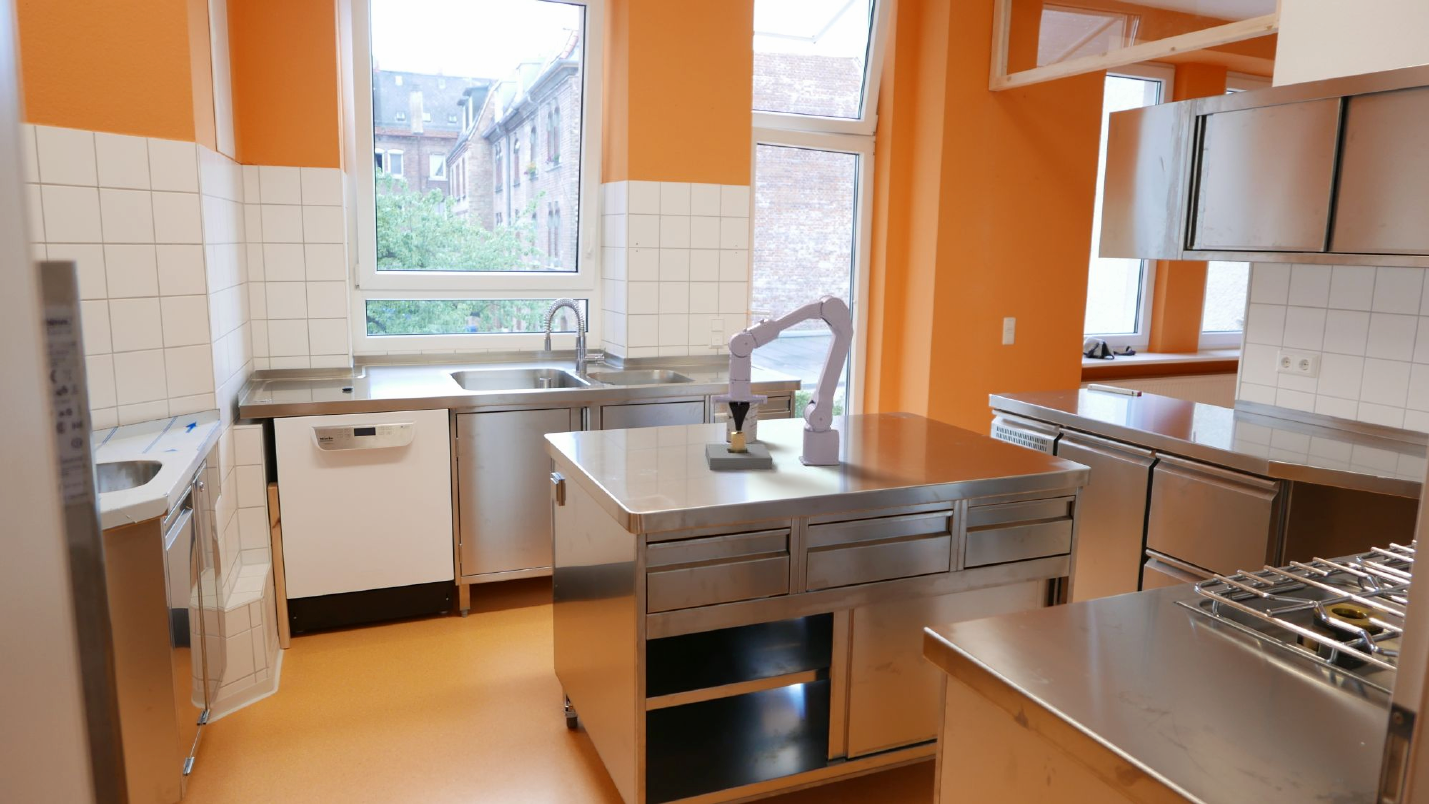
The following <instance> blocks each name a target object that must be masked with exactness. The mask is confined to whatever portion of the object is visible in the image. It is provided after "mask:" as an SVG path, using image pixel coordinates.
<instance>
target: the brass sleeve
mask: <svg viewBox="0 0 1429 804" xmlns="http://www.w3.org/2000/svg"><path fill="white" fill-rule="evenodd" d="M730 444H731V449H730V453H745V452H746V444H747V443H746V432H744V431H732V432H731V441H730Z"/></svg>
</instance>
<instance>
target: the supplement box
mask: <svg viewBox="0 0 1429 804" xmlns="http://www.w3.org/2000/svg"><path fill="white" fill-rule="evenodd" d="M733 401H734V400H733ZM738 404H739V403H738ZM726 405H727V406H726V431H725V433H726V434H725V441H726V442H731V432H732V431H736V430H735V422H734V418H733V414H732V412H731V409H730V407H729V404H728V403H726ZM758 412H759V403H750V408H749V410H748V412H747V414H746V416H745V419H744V422H743V425H742V430H741V431H744V432H746V444H752V443H753V442H754V441H756V440H757V437H758V436H757V435H758V416H759V415H758V414H759V413H758Z"/></svg>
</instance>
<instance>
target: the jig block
mask: <svg viewBox="0 0 1429 804" xmlns="http://www.w3.org/2000/svg"><path fill="white" fill-rule="evenodd" d="M730 449H731V443H723V444H722V443H706V444H705V455H704V456H705V458H706V461H707V464H708V467H709V470H716V471H717V470H719V471H720V470H722V471H723V470H724V471H725V470H731V471H732V470H735V471H737V470H773V457H772V455H771V453H770V451H769V450H768V448H767V447H766V445H765V444H763V443H749V444H747V443H746V452H745V453H730Z"/></svg>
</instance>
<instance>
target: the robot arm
mask: <svg viewBox="0 0 1429 804" xmlns="http://www.w3.org/2000/svg"><path fill="white" fill-rule="evenodd" d="M806 320H823V321H824V322H825V323H826V324H827V326H828V328H829V330H830V331H831V333H832V336H831V340H830V342H829V346H828V349H827V353H826V356H825V359H824V362H823V366H822V369H821V372H820V375H819V378H818V381H817V385H816V389H815V391H814V392H813V393H812V395H811V397H810V399H809V401H808V403H807V404H806V405H804V407H803V410H802V415H803V419H804V420H805V421H806V423H805V424H804V425H803V433H802V434H803V435H802V455H799V456H798V459H799V460H800V461H801V463H802V464H803V465H807V466H808V465H809V466H811V465H813V466H814V465H815V466H818V465H819V466H824V465H825V466H828V465H829V466H832V465H835V466H836V465H840V461H839V460H840V459H839V457H840V432H839V430H838V429H836V428H835V429H834V428H833V429H832V427H831V426H832V424H833V420H834V419H833V408H834V397H835V393H836V391H837V387H838V383H839V380H840V378H841V374H842V371H843V368H844V365H845V362H846V358H847V355H848V352H849V349H850V347H851V343H852V339H853V336H854V328H853V323H852V319H851V316H850V309H849V308H848V305H846V303H845V302H844V301H843V300H842V299H841V298H839V297H835V296H832V295H827V294H825V295H823V296H820V298H814V299H813V300H810V301H808V302H805V303H804V304H802V305H800V306H798V307H797V308H795V309H793V310H791V311H789V312H787V313H786V314H784V315H782V316H780V317H779V318H777V319H775V320H773V319H771V318H766V319H765V318H761V319H758V323H756V324H753V325H752V326H750V327H748V328H747V327H744V328H743V329H742V332H736V333H734V334H732V335H731V336H730V338H729V341H728V343H727V346H728V350H730V353H729V362H728V394H727V393H726V394H712V395H710V397H711V400H710V401H711V404H713V405H714V404H727V403H728V404H729V407H730V409H731V412H732V414H733V418H734V422H735V430H736V431H741V430H742V425H743V422H744V419H745V416H746V414H747V412H748V410H749V408H750V403H758V404H763V405H767V404H768V396H767V395H763V394H761V395H760V394H751V384H752V383H751V381H752V380H751V377H752V362H751V354H752V352H753V350H754V349H755V350H756V349H758V348H759V349H760V348H761V347H763V346H765V345H768V344H769V343H771V342H773V341H775V340H777V339H778V338H779V336H780V333H781V332H782V331H784V330H786V329H788V328H790V327H791V328H792V327H793V326H795V325H797V324H800V323H802V322H804V321H806ZM733 400H734V401H733ZM738 403H739V404H738Z"/></svg>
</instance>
